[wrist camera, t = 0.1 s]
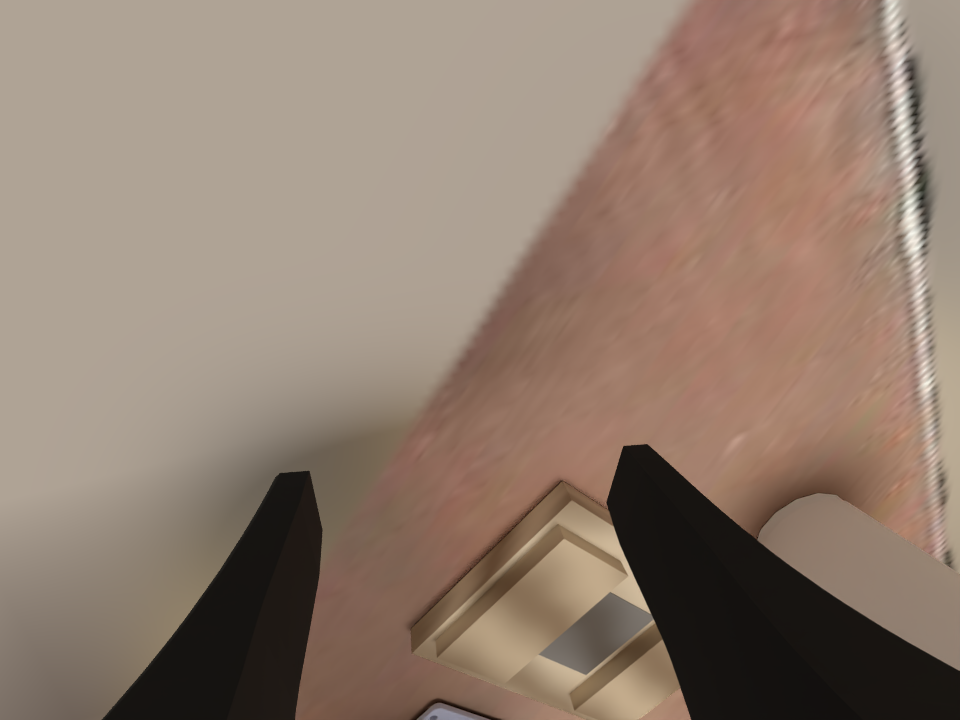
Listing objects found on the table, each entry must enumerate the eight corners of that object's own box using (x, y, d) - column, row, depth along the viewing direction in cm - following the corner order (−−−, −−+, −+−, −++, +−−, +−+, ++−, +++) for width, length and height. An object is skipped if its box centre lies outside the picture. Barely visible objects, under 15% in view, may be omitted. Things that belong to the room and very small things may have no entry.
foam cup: (763, 606, 33) (959, 862, 22) (707, 536, 29) (912, 804, 18) (889, 529, 32) (1173, 760, 20) (849, 444, 28) (1173, 671, 16)
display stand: (599, 705, 35) (613, 744, 33) (410, 628, 29) (412, 671, 26) (738, 594, 32) (763, 629, 30) (562, 480, 26) (578, 514, 23)
